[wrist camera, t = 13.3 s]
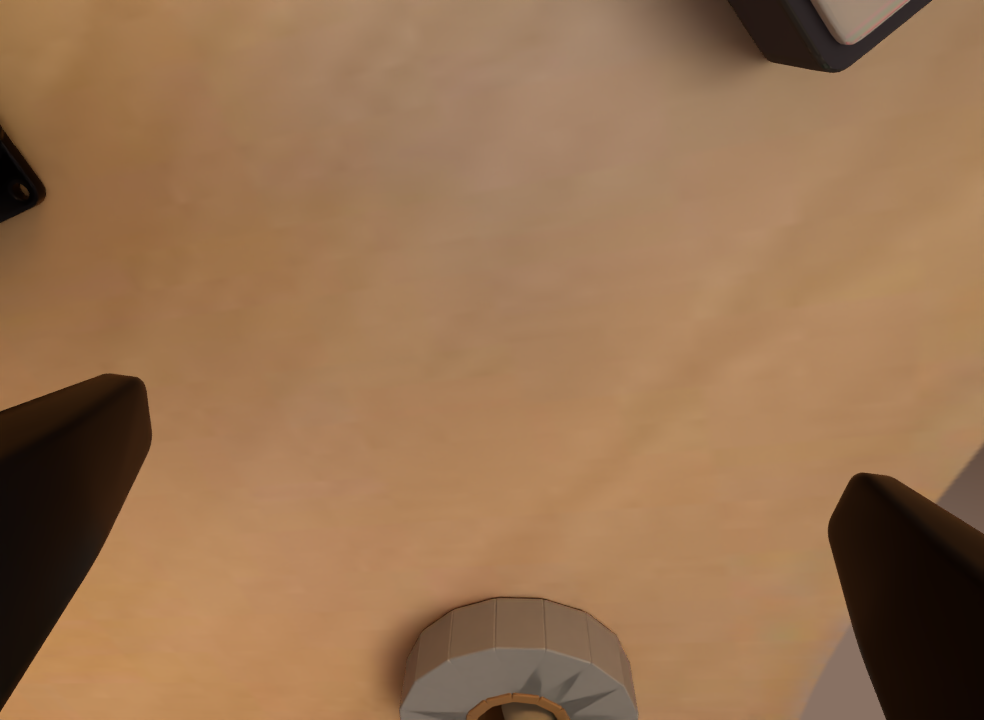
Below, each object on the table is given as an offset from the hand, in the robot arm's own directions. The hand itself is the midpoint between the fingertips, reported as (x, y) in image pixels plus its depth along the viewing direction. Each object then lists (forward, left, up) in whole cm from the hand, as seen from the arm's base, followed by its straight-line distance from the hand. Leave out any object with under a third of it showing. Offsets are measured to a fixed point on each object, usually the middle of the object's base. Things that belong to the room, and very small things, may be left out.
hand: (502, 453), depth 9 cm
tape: (-8, -21, -13) cm, 26 cm away
